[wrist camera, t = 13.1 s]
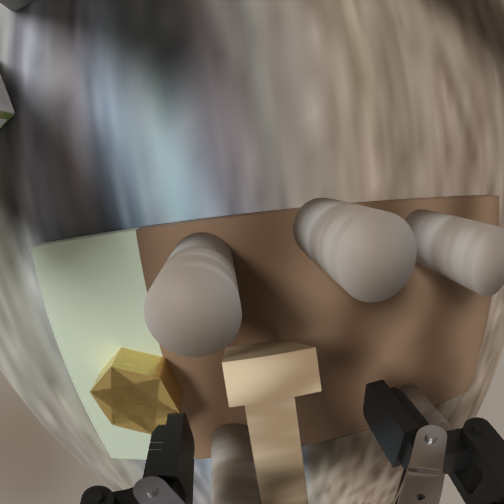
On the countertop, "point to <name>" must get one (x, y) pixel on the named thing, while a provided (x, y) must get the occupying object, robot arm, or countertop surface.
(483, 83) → the countertop surface
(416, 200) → the board
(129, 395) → the gold star hexagon
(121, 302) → the green pad
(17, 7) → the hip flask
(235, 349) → the light wood t-shaped block
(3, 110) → the syrup box
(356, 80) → the countertop surface
